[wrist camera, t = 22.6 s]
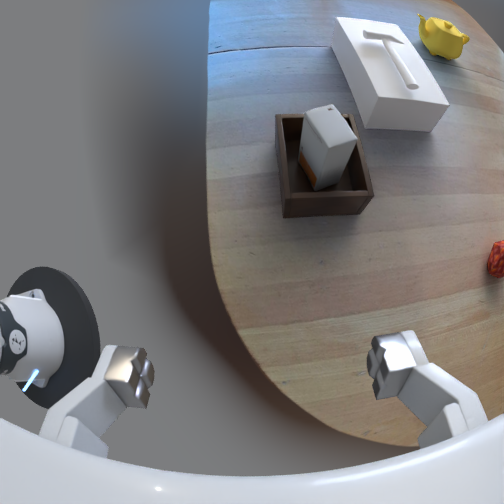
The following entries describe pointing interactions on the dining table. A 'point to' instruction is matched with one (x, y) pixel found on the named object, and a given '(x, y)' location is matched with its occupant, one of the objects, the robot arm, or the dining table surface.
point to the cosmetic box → (325, 146)
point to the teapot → (441, 37)
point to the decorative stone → (496, 260)
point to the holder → (299, 187)
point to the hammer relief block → (387, 76)
